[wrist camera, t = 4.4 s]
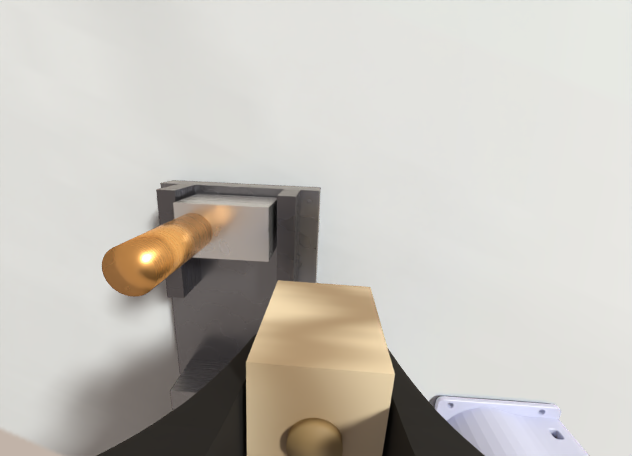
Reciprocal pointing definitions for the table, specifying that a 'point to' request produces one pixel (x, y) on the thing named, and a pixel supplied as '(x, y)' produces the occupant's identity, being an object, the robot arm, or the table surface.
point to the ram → (194, 240)
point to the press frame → (234, 280)
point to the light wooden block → (318, 374)
